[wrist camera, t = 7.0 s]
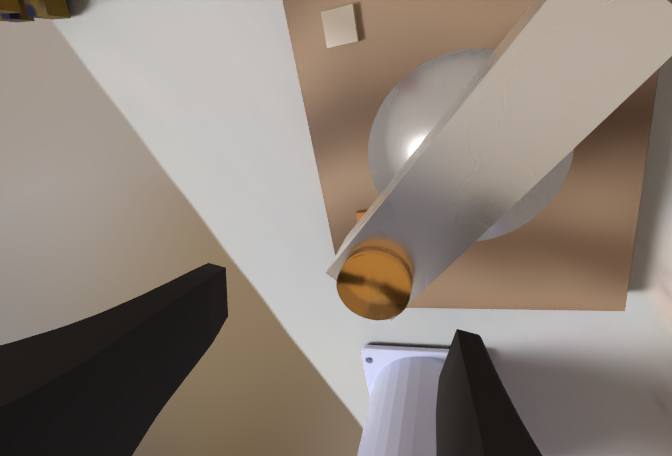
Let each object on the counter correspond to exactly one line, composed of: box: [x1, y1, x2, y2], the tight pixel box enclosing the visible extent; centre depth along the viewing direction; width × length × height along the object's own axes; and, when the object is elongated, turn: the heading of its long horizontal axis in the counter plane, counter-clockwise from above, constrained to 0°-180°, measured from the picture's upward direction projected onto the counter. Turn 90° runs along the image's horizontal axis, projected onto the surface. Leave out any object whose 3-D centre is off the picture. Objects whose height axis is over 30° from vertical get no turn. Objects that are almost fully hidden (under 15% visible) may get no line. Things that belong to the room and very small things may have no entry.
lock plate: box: [283, 0, 659, 311], centre depth 15 cm, size 20×14×6 cm
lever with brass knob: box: [326, 0, 672, 321], centre depth 10 cm, size 9×6×5 cm, turn 148°
